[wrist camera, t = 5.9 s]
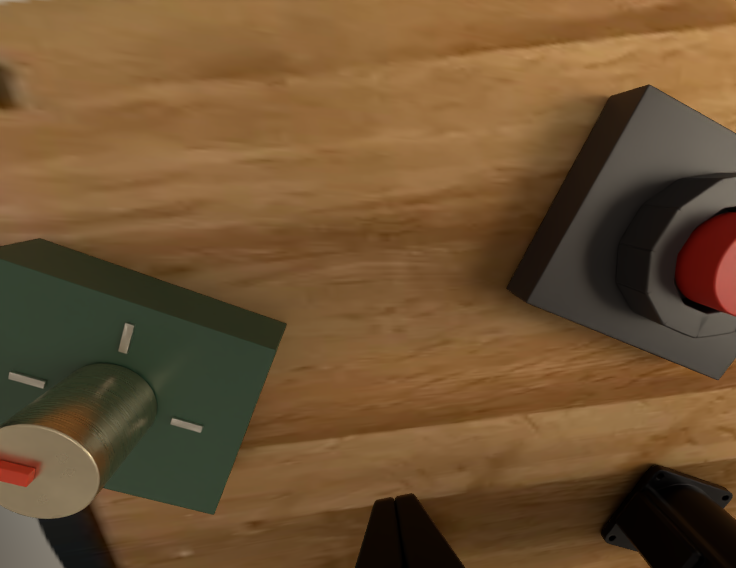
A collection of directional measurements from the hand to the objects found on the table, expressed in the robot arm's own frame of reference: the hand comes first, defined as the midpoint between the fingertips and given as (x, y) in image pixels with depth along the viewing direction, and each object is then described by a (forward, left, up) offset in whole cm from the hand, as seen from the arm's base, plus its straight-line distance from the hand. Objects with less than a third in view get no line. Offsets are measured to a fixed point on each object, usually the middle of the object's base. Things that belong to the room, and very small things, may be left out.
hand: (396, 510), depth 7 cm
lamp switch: (-12, -9, -12) cm, 19 cm away
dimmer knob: (+10, +7, -9) cm, 15 cm away
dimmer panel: (+10, +7, -12) cm, 17 cm away
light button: (-12, -9, -8) cm, 17 cm away
